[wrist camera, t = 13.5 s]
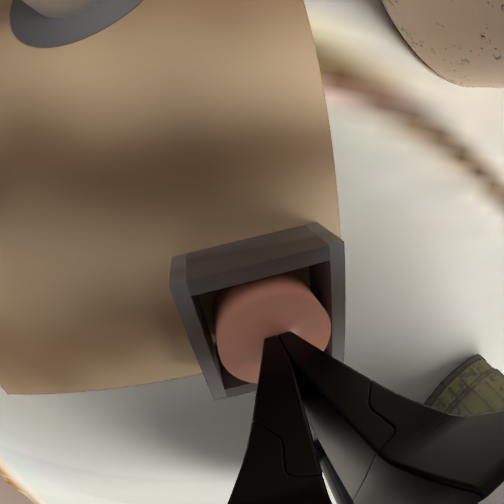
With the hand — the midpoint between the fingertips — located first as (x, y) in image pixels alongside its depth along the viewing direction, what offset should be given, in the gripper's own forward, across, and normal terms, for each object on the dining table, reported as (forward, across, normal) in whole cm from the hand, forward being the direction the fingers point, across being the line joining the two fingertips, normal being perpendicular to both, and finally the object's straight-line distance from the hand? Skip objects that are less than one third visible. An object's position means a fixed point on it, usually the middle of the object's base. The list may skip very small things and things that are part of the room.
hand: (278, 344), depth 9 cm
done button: (+2, 0, 0) cm, 2 cm away
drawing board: (+3, +6, -7) cm, 9 cm away
